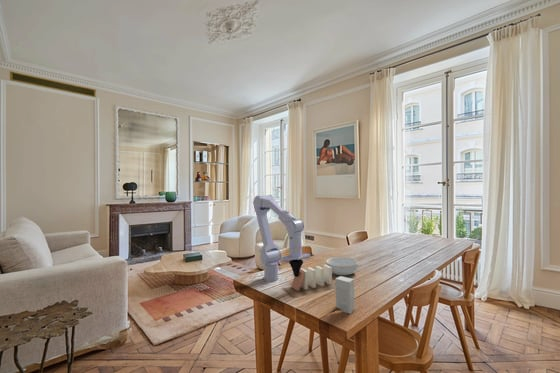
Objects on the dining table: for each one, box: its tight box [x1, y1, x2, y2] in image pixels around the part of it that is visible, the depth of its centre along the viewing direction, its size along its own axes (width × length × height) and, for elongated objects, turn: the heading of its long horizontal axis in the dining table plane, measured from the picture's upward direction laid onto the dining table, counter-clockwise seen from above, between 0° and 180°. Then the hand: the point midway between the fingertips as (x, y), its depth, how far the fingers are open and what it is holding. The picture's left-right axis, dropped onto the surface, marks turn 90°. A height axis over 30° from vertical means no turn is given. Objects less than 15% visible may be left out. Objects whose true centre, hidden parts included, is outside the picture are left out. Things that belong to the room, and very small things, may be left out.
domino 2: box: [306, 266, 316, 288], centre depth 119 cm, size 2×5×8 cm, turn 24°
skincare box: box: [334, 275, 356, 315], centre depth 98 cm, size 6×4×12 cm
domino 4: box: [322, 264, 333, 285], centre depth 123 cm, size 2×5×8 cm, turn 24°
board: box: [282, 281, 336, 299], centre depth 117 cm, size 26×11×1 cm, turn 114°
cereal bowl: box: [325, 256, 359, 276], centre depth 138 cm, size 17×17×7 cm
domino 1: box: [300, 267, 308, 290], centre depth 117 cm, size 2×5×8 cm, turn 24°
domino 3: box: [314, 265, 324, 286], centre depth 121 cm, size 2×5×8 cm, turn 24°
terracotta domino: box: [290, 271, 305, 291], centre depth 116 cm, size 2×5×8 cm, turn 24°
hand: (296, 276), depth 116 cm, fingers closed
